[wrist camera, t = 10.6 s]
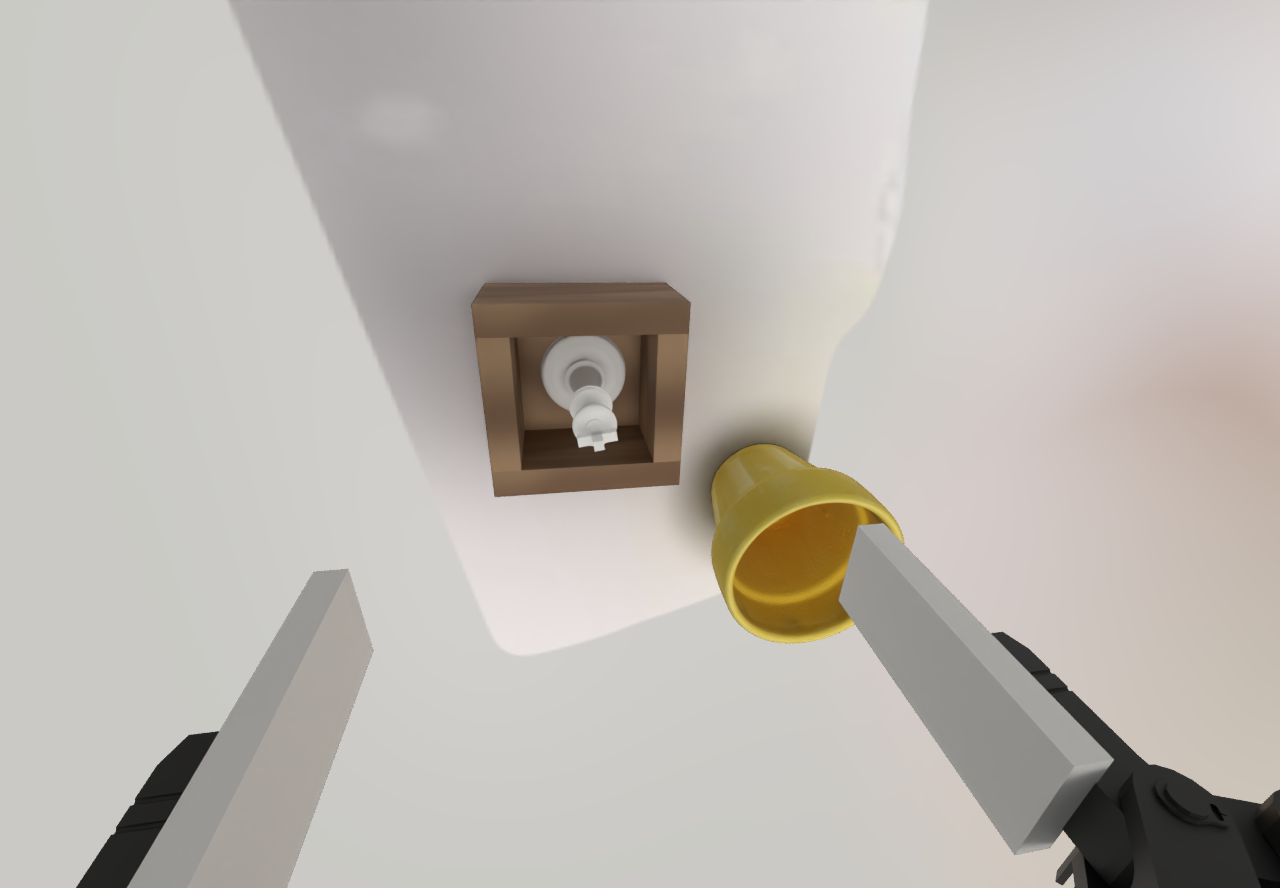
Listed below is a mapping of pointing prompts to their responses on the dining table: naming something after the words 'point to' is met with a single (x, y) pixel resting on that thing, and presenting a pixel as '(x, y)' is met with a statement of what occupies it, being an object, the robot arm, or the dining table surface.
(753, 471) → the plant pot
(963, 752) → the robot arm
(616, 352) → the chess piece
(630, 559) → the dining table surface
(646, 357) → the walnut holder
